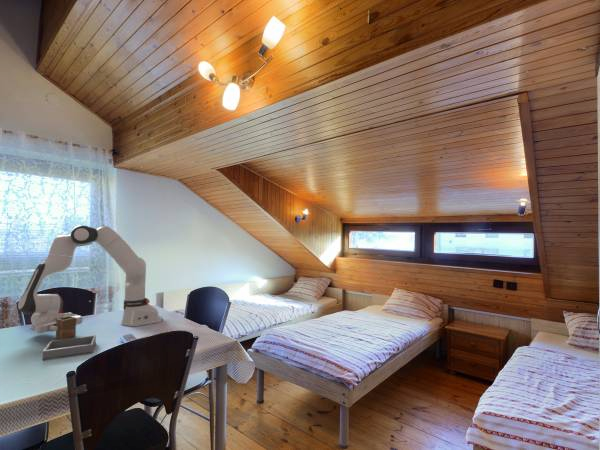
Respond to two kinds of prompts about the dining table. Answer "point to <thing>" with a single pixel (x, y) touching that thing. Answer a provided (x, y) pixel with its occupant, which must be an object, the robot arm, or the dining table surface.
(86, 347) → the grey crate
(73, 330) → the walnut crate
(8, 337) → the dining table surface
